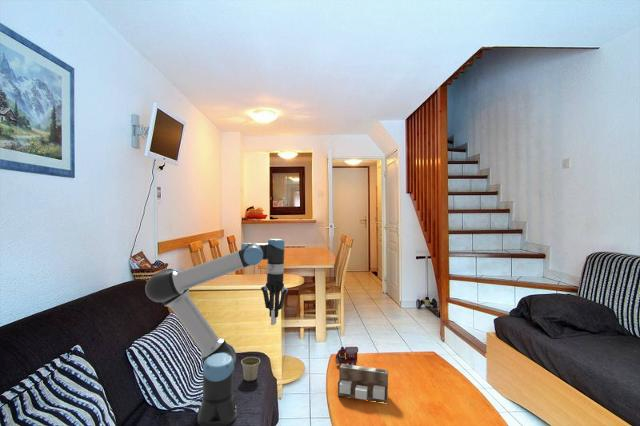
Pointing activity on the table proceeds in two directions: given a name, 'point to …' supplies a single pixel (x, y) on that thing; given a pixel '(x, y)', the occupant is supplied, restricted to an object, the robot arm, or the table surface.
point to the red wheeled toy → (347, 356)
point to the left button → (345, 387)
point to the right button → (379, 392)
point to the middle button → (361, 392)
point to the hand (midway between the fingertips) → (273, 324)
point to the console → (363, 379)
